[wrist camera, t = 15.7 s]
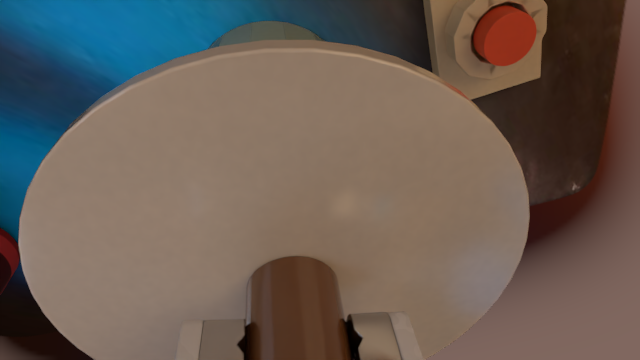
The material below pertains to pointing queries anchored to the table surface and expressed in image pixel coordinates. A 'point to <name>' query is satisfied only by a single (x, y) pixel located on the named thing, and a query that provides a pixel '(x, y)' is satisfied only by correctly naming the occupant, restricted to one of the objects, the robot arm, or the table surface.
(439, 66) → the button block
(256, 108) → the jar lid
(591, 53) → the table surface
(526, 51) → the button
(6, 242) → the canned food
